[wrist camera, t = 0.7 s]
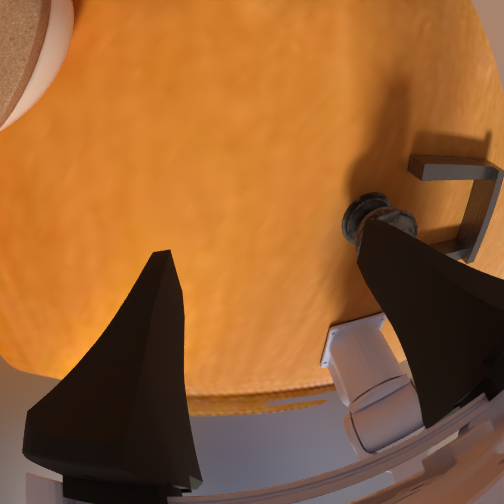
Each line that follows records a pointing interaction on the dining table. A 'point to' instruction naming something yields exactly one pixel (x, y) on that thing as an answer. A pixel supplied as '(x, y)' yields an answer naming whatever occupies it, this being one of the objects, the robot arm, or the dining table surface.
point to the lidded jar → (31, 51)
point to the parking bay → (479, 202)
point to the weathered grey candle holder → (374, 217)
